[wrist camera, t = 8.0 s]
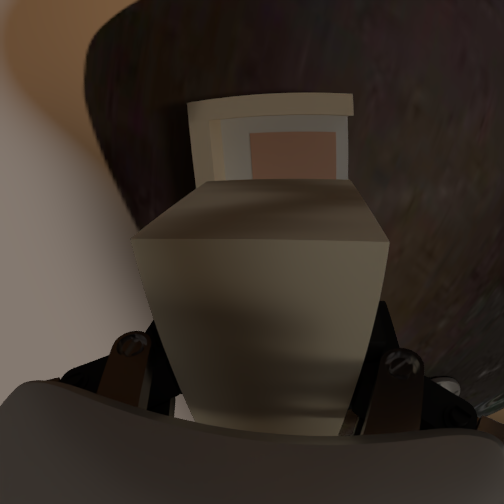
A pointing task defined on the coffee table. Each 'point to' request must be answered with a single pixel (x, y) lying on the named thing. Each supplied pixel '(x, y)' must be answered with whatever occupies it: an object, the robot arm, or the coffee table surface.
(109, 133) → the coffee table surface
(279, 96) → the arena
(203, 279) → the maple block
